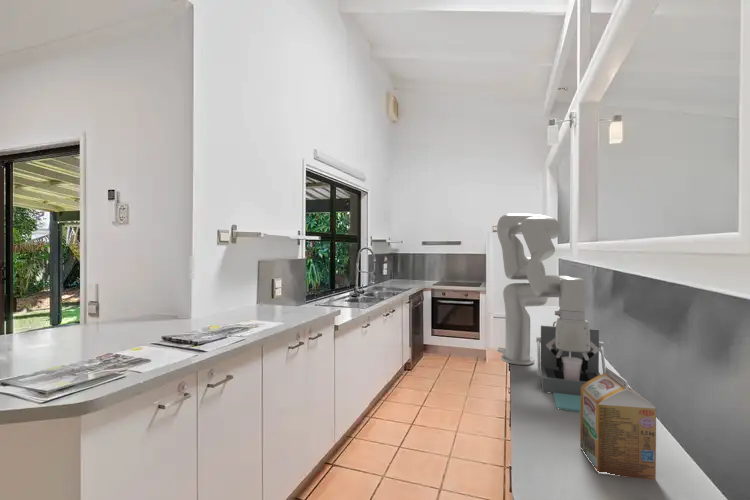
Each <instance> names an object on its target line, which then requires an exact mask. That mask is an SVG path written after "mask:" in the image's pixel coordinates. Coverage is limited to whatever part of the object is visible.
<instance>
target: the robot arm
mask: <svg viewBox="0 0 750 500" xmlns="http://www.w3.org/2000/svg"><path fill="white" fill-rule="evenodd" d="M496 232H497V233H496V234H497V238H498V240H499V243H500V246H501V250H502V253H501V254H502V258H503V259H502V260H503V269H504V274H505V277H506V278H507V279H509V280H512V281H528V282H513V283H509V284H507V285H505V287H504V289H503V291H502V295H503V302H504V303H503V304H504V310H505V339H504V342H505V343H504V344H505V347H504V346H498V347H497V352H498V353H501V354H502V355H500V356H501V359H500V360H501V361H502V362H504V363H507V364H512V365H518V366H519V365H520V366H527V365H529V366H530V365H533V364H534V363H535V359H534V358H533V357H531V316H530V314H529V313H528V311H527V309H526V308H527V307H542V306H545V304H546V303H547V302H548V298H559V309H558V310H555V311H554V315H555V316H558V317H557V318H556V321H557V322H556V323H555V326H556V330H555V337H554V338H553V339H552V340H550V341H549V342H548V343H547V344H546V346H547V348H548V349H549V350H550V351H551V352H552V353H553V354H554V355H555V356H556V366H557V367H558V368H559V370H562V358H561V354H562V352H563V351H571V352H582V355H583V358H582V360H583V364H582V371H583V372H584V373H586V370H588V360H589V359H590V358H591V357H592V356H594V354H596V353H597V352H598V351H599V352H600V347H599V348H598V347H597V346H596V345H595V344H594V343H592V342H591V341H590V331H589V329H590V324H589V320H587V319H586V281H585V279H584V278H581V277H572V276H570V275H569V276H568V275H552V274H551V275H550V274H549V275H546V271H545V269H546V268H545V265H544V263H543V262H544V261H545V260H547V259H549V258H551V257H552V256H553V255H555V252H556V247H555V245H554V243H553V241H552V240H554V239H557V238H558V237H559V236H560V234H561V226H560V222H559V221H558V220H557V219H556V218H555V217H552V216H547V215H543V214H538V213H535V214H534V213H513V212H512V213H506V214H504V215H502V216H500V217H499V219H498V221H497V225H496ZM517 235H522V236H523V238H524V242H525V244H526V246H527V249H528V251H529V254H530V256H526V255H525V249H524V245H523V243H522V242H521V240H520V239H519V238H518V237H517ZM554 343H555V346H556V348H557V351H556V350H555V349H554V348H553V347H552V345H553V344H554ZM590 346H591V347H592V348H593V349H592V350H591V351H590ZM589 351H590V352H589ZM586 352H588V353H586Z"/></svg>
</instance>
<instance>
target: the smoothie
mask: <svg viewBox="0 0 750 500" xmlns="http://www.w3.org/2000/svg"><path fill="white" fill-rule="evenodd" d="M581 364H583V360H582V359H580V358H576V357H571V351H569V357H562V365H563V373H564V379H567V380H577V381H579V378H580V371H581Z"/></svg>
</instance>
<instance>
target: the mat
mask: <svg viewBox="0 0 750 500" xmlns="http://www.w3.org/2000/svg"><path fill="white" fill-rule="evenodd" d="M553 398H554V401H555V406H556V409H557V408H559V409H558V410H562V409H566V410H565V411H570V410H571V412H578V413H581V396H578V395H570V394H561V393H553Z"/></svg>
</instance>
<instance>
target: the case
mask: <svg viewBox="0 0 750 500" xmlns="http://www.w3.org/2000/svg"><path fill="white" fill-rule="evenodd" d="M555 330H556V325H554V326H553V325H540V336H536V345H537V346H536V348H537V351H536V352H537V354H536V355H537V369H536V375H537V376H538V377H539V376H540V383H541V389H542V392H543V393H546V392H550V393H549V394H554V393H561V394H570V395H578V396H581V386H582V385H584V384H585V383H586V382H588V381H589V380H591V379H593V378H595V377H597V376H599V375H602V374H604V373H605V372H606V361H605V351H604V350H605V349H604V347H605V346H604V345H605V343H604V342H603V341H600V329H595V328H589V331H590V341H591V342H592V343H594V344H595V345H596V346H597V347H598V348H599V349H600V350H599V351H598V352H597V353H596V354H594V356H592V357H591V358H590V359H589V360H588V370H586V373H584V372H583V371H582V364H581V371H580V378H579V381H577V380H567V379H564V373H563V365H562V370H559V368H558V367H557V366H556V356H555V355H554V354H553V353H552V352H551V351H550V350H549V349H548V348H547V346H546V344H547V343H548V342H549V341H550V340H552V339H553V338H554V337H555ZM552 347H553V348H554V349H555V350H556V351H557V348H556V346H555V343H554V344H553V345H552ZM592 349H593V348H592V347H591V346H590V351H591V350H592ZM590 351H589V352H590ZM586 353H588V352H586ZM600 354H601V355H600ZM599 355H600V356H601V357H600V356H599ZM562 357H569V351H563V352H562V354H561V358H562ZM571 357H576V358H580V359H582V358H583V355H582V352H571ZM599 357H600V358H601V365H602V368H601V369H602V374H601V373H600V372H599V371H600V368H599V367H600V366H599V364H600V361H599V360H600V358H599Z"/></svg>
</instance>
